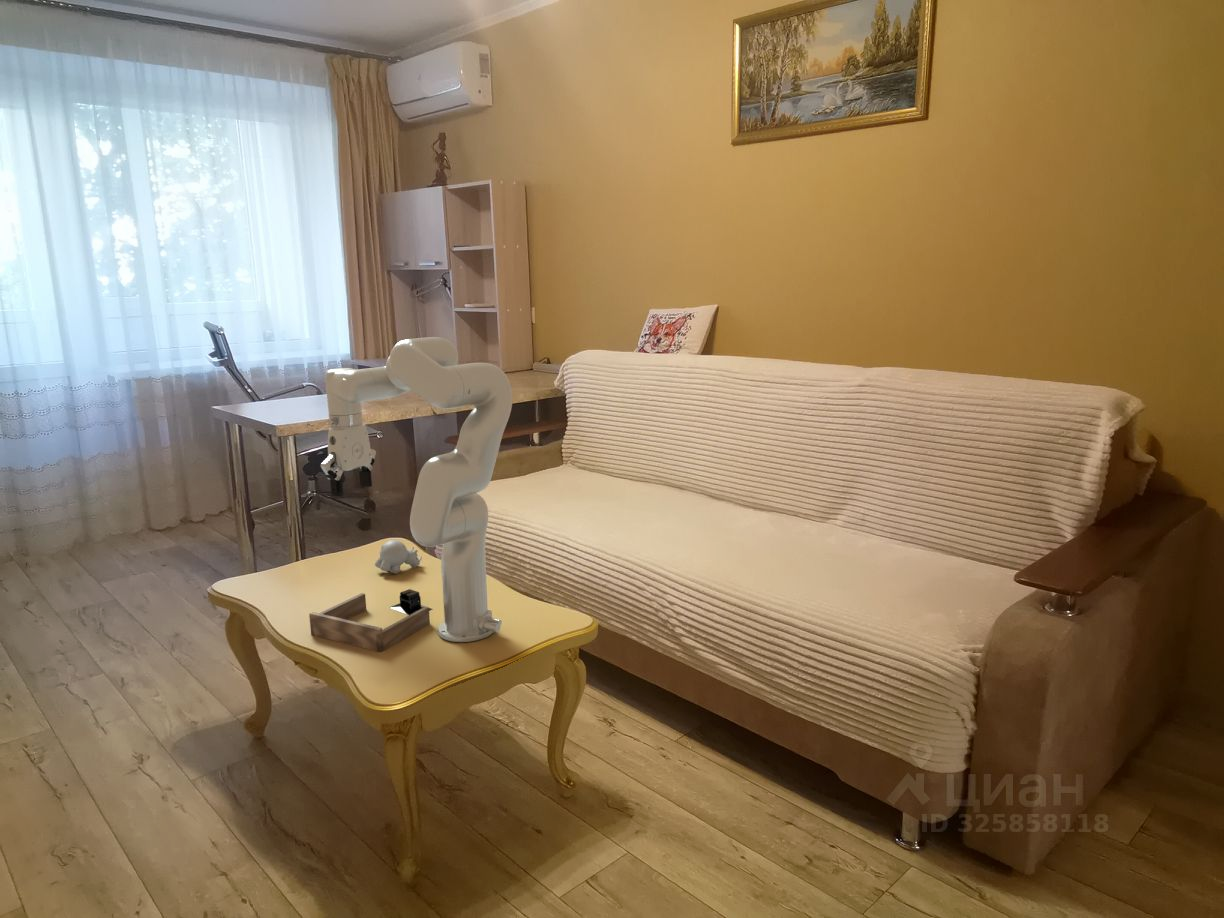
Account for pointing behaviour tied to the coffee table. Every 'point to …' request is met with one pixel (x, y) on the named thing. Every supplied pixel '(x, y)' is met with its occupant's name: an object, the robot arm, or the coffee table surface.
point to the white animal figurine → (396, 556)
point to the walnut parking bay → (363, 625)
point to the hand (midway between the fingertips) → (352, 491)
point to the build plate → (409, 602)
